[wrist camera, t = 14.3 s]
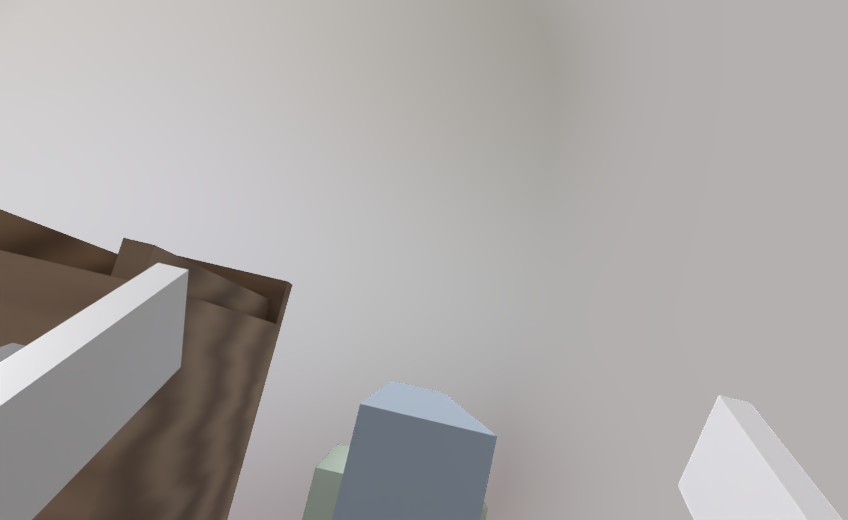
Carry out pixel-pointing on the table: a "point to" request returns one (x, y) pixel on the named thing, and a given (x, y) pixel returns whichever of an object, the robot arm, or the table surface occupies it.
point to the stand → (178, 398)
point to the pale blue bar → (415, 459)
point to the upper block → (332, 486)
